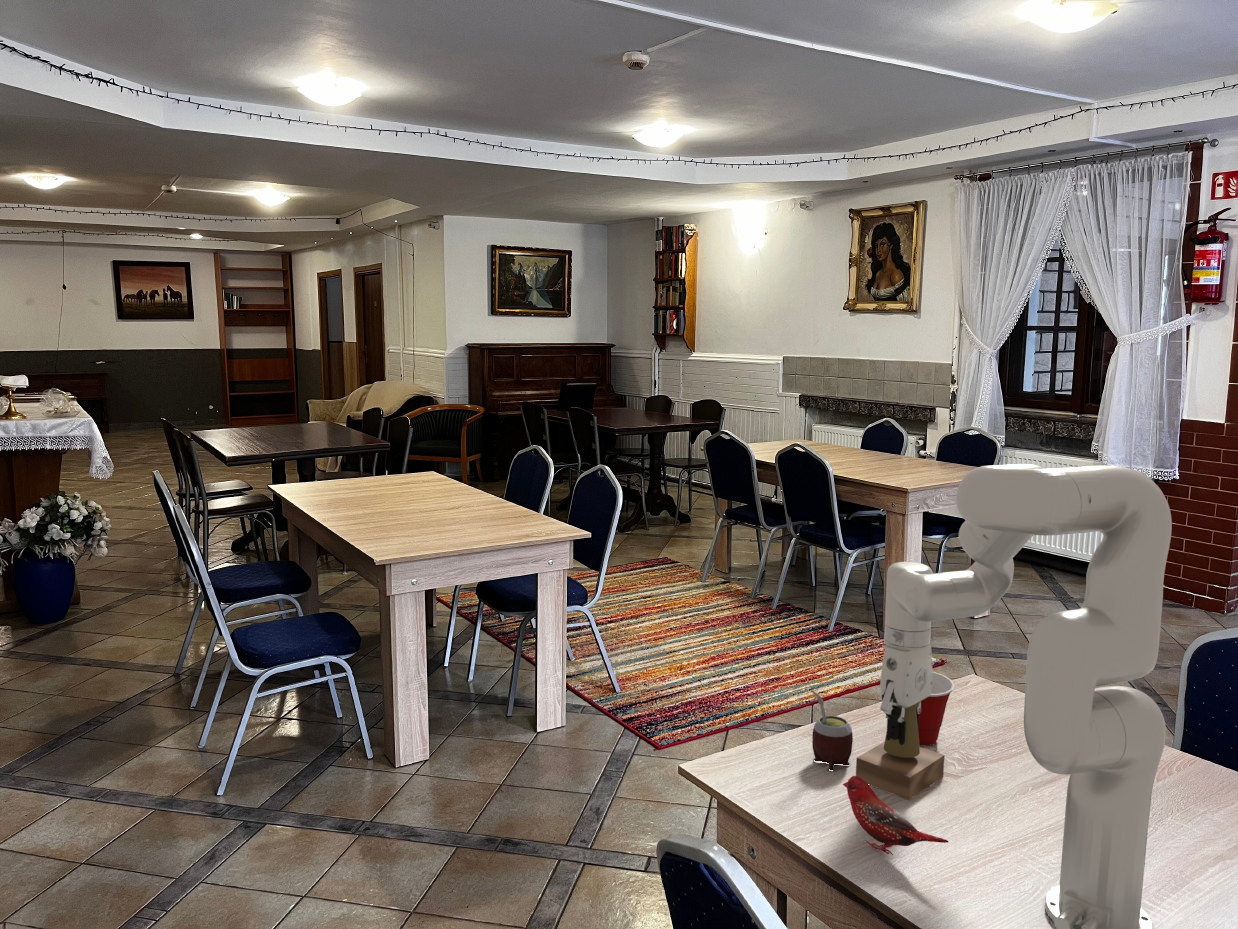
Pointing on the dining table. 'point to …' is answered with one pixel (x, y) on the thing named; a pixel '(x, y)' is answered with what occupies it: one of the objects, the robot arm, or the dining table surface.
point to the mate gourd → (831, 738)
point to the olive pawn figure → (906, 736)
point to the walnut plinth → (900, 771)
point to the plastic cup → (934, 709)
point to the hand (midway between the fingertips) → (902, 737)
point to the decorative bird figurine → (882, 818)
